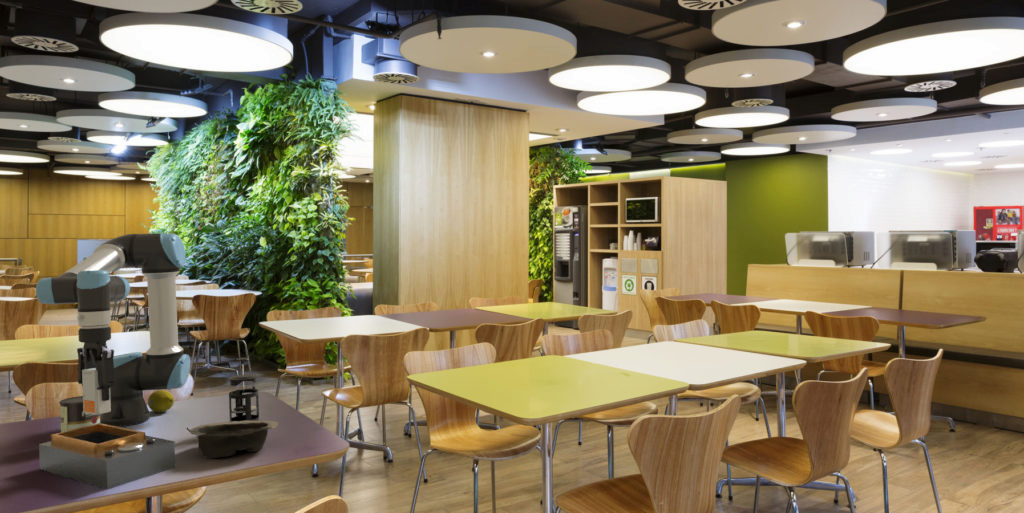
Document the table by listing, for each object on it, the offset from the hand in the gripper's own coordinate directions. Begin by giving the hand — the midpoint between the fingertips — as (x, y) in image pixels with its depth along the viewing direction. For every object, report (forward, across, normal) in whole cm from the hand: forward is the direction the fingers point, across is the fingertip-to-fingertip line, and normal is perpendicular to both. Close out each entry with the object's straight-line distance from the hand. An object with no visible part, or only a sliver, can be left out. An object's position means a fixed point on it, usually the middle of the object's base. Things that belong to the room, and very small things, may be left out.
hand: (97, 411), depth 181 cm
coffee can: (+15, -26, +9) cm, 32 cm away
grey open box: (+15, +4, 0) cm, 16 cm away
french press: (+15, +4, +44) cm, 47 cm away
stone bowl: (+16, +21, +27) cm, 38 cm away
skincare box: (+1, 0, 0) cm, 1 cm away
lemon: (+15, -42, +45) cm, 64 cm away
